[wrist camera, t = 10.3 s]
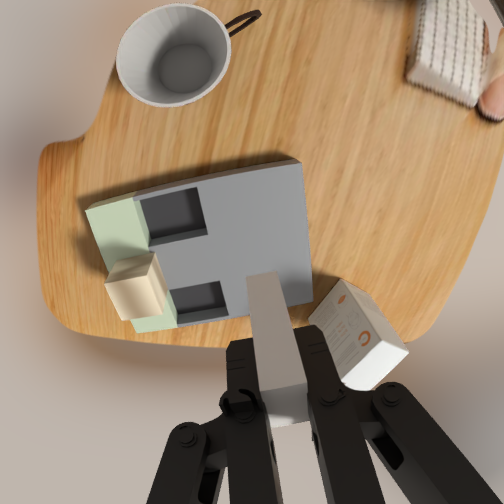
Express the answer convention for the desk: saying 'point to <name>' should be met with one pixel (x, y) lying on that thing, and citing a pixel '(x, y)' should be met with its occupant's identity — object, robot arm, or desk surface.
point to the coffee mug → (176, 53)
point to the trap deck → (213, 239)
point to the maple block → (137, 287)
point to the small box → (357, 336)
